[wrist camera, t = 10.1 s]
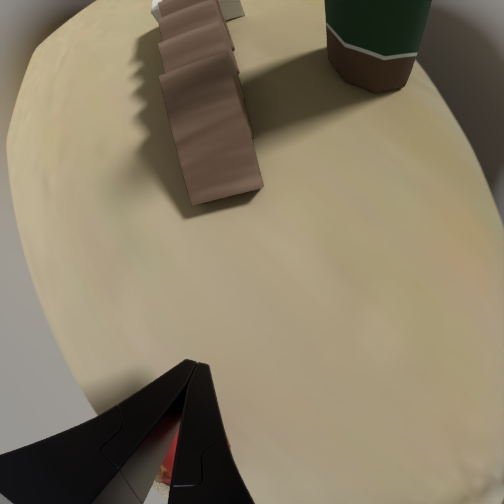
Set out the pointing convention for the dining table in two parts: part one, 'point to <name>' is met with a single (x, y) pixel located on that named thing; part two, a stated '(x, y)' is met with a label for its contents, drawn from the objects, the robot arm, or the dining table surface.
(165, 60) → the domino
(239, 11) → the end block
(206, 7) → the domino
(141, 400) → the robot arm
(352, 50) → the beer bottle
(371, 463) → the dining table surface
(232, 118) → the domino
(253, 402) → the dining table surface
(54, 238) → the dining table surface
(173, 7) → the domino
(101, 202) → the dining table surface
